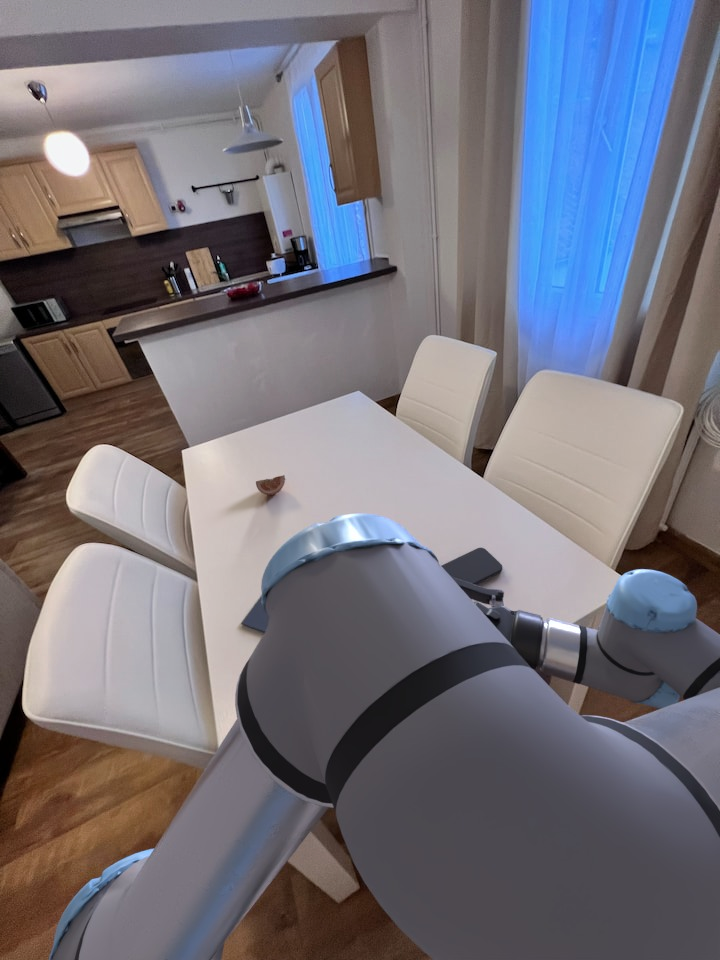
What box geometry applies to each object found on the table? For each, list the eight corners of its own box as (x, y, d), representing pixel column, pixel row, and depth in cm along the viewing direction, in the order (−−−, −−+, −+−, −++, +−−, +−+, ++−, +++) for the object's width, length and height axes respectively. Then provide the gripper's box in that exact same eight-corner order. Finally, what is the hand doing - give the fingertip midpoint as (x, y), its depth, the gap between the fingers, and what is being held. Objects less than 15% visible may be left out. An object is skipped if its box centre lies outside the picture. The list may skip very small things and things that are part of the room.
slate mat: (282, 639, 77) (281, 637, 77) (241, 624, 82) (241, 623, 81) (308, 598, 85) (307, 596, 84) (269, 586, 89) (268, 585, 88)
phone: (423, 573, 85) (482, 545, 88) (423, 576, 85) (481, 548, 89) (443, 598, 79) (505, 567, 83) (443, 601, 79) (504, 570, 83)
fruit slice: (287, 482, 121) (283, 468, 118) (289, 495, 115) (284, 481, 112) (260, 489, 120) (255, 475, 117) (260, 502, 114) (255, 488, 112)
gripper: (530, 726, 52) (367, 667, 61) (542, 604, 66) (409, 571, 75) (538, 697, 47) (361, 639, 57) (549, 573, 61) (406, 543, 71)
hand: (388, 601), depth 66 cm, fingers closed on soda can, 7 cm apart
